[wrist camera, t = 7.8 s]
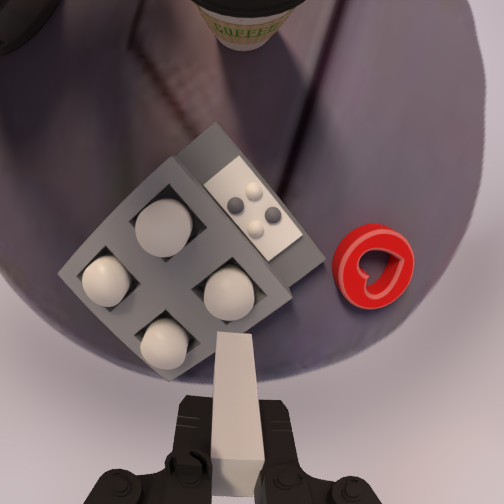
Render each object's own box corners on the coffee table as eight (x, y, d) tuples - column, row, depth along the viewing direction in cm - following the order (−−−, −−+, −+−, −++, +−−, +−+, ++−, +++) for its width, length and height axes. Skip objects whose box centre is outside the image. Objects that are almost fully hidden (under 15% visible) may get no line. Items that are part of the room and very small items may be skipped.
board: (74, 259, 34) (57, 273, 30) (217, 123, 30) (214, 119, 26) (174, 360, 39) (168, 382, 34) (321, 253, 35) (332, 267, 31)
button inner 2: (134, 220, 29) (124, 228, 26) (170, 187, 28) (162, 191, 25) (167, 256, 30) (160, 267, 27) (203, 225, 29) (200, 234, 27)
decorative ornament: (416, 258, 36) (428, 267, 33) (364, 312, 38) (373, 324, 35) (372, 206, 34) (383, 211, 31) (314, 267, 36) (321, 277, 33)
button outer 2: (196, 283, 32) (193, 295, 30) (232, 254, 32) (231, 265, 29) (227, 314, 34) (226, 329, 31) (262, 288, 33) (264, 301, 30)
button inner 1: (85, 270, 31) (74, 281, 29) (111, 244, 31) (100, 253, 28) (114, 302, 33) (105, 315, 30) (141, 277, 32) (133, 289, 29)
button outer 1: (138, 332, 33) (131, 347, 30) (167, 309, 32) (161, 324, 29) (168, 359, 34) (164, 376, 31) (198, 339, 33) (195, 355, 31)
